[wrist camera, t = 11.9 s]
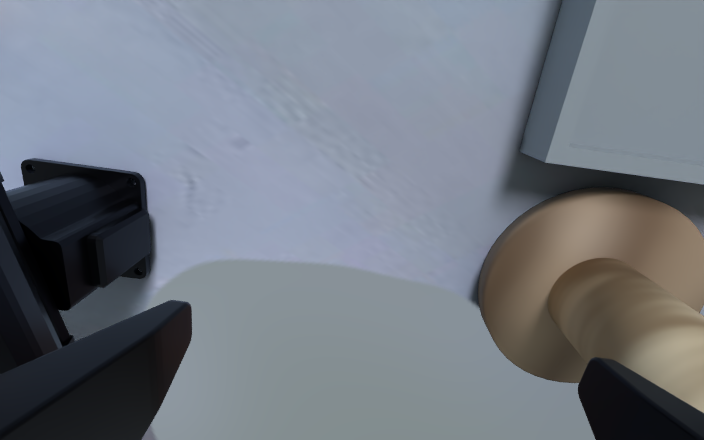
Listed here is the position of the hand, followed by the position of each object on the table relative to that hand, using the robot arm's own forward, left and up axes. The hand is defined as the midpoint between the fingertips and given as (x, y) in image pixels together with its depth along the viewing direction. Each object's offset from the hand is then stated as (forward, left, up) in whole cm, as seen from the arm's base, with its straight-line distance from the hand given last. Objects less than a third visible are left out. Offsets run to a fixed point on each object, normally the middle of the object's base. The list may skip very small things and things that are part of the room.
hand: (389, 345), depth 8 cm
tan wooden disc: (+13, -4, -13) cm, 19 cm away
